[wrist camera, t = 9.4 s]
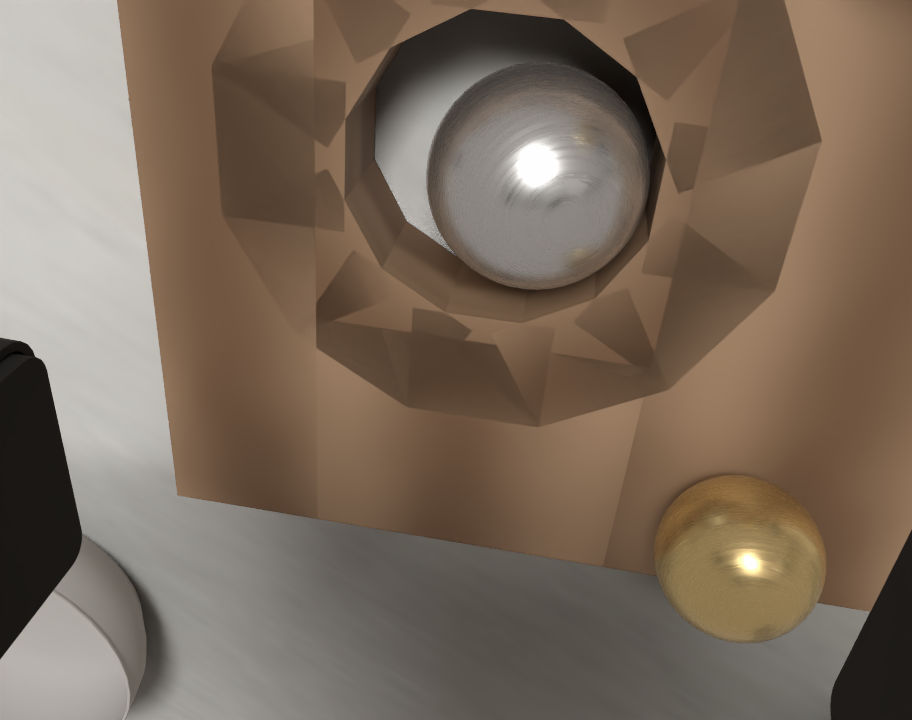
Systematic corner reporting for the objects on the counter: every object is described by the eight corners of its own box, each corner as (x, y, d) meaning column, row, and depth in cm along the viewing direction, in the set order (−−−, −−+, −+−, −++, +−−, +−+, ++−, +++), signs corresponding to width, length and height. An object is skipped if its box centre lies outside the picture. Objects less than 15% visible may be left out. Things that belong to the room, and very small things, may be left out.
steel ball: (623, 42, 21) (712, 104, 16) (589, 233, 23) (658, 327, 19) (417, 33, 20) (457, 96, 15) (407, 233, 22) (438, 333, 18)
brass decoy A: (829, 456, 21) (870, 572, 18) (783, 570, 24) (812, 692, 20) (668, 431, 22) (678, 540, 18) (637, 545, 24) (642, 662, 21)
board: (1439, -392, 14) (1614, -439, 12) (940, 552, 26) (976, 629, 24) (137, -479, 16) (51, -536, 14) (216, 435, 28) (177, 495, 26)
